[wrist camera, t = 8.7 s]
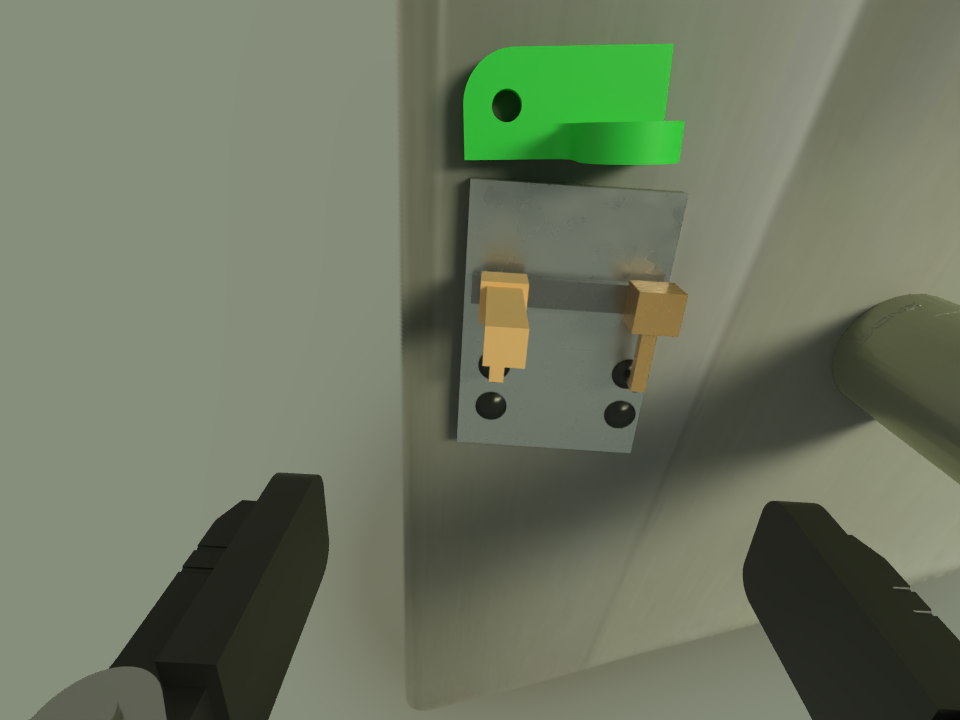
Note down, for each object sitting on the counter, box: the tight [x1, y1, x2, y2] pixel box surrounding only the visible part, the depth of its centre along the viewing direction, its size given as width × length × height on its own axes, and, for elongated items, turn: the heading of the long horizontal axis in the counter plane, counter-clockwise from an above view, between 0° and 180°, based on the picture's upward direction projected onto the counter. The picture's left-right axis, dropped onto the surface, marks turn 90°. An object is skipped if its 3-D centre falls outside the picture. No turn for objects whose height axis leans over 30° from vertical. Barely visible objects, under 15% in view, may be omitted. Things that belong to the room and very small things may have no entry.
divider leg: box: [478, 271, 529, 383], centre depth 32 cm, size 3×8×10 cm, turn 176°
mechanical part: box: [463, 44, 685, 165], centre depth 28 cm, size 12×6×8 cm, turn 91°
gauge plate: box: [457, 177, 688, 453], centre depth 36 cm, size 14×20×5 cm
